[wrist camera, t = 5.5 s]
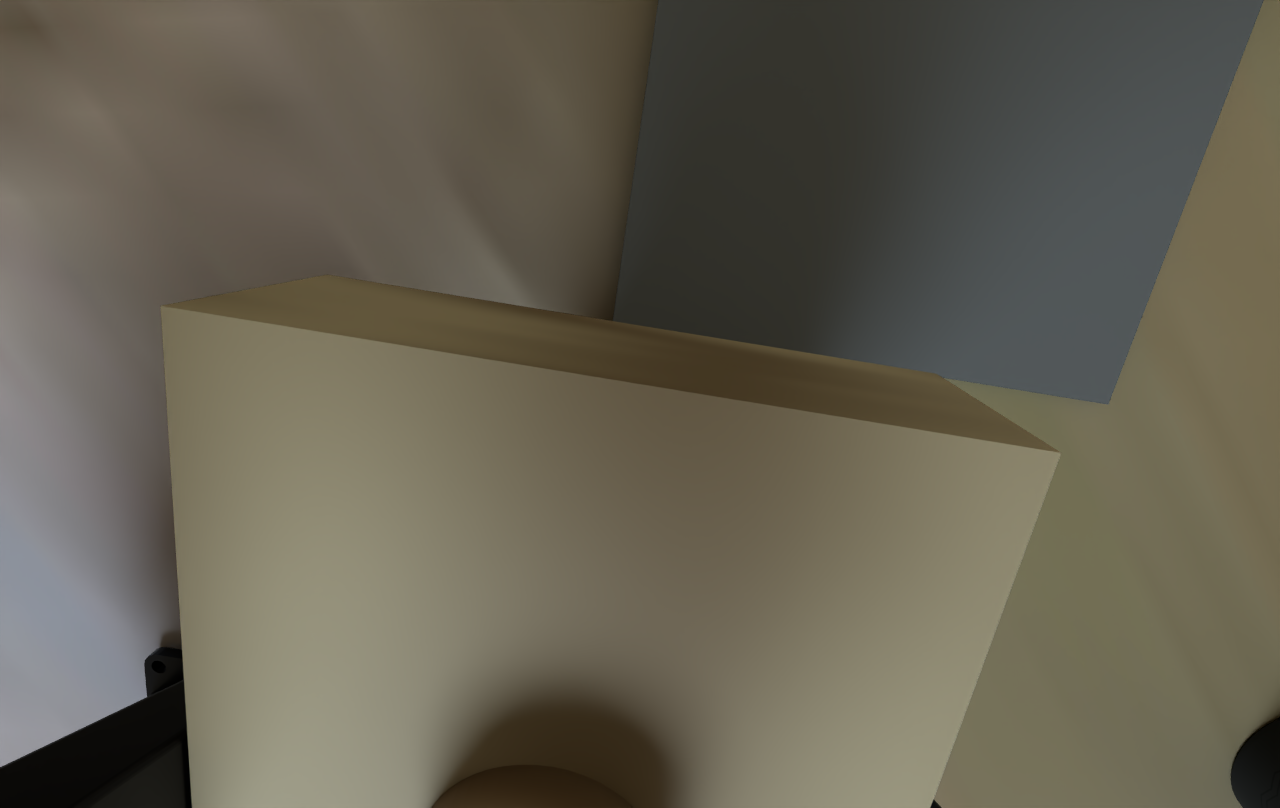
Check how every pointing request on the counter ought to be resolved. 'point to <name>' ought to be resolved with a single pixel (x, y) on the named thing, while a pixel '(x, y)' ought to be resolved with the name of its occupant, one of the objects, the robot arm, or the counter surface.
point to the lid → (572, 558)
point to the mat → (923, 177)
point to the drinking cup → (1259, 769)
